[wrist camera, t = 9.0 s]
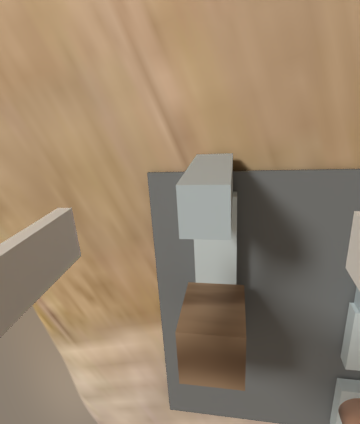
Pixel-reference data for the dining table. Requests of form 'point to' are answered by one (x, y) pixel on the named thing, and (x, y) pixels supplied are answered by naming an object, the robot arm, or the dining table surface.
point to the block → (212, 336)
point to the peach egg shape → (350, 411)
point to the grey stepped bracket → (210, 216)
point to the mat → (270, 291)
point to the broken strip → (348, 360)
